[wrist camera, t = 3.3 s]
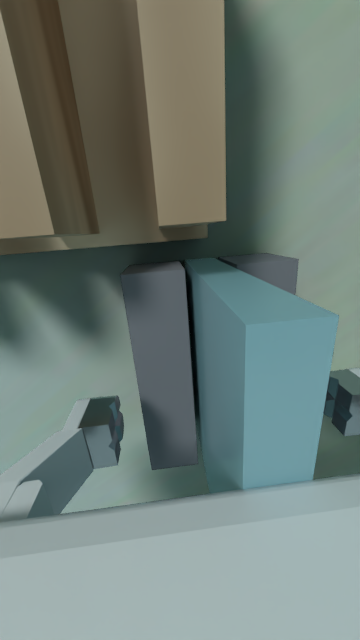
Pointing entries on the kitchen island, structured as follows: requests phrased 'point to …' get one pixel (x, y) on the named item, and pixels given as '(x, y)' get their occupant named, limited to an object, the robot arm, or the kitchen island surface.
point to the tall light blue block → (256, 376)
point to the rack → (110, 122)
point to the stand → (176, 347)
